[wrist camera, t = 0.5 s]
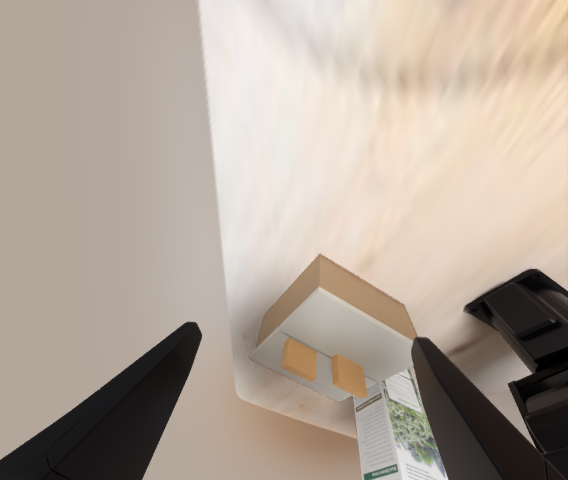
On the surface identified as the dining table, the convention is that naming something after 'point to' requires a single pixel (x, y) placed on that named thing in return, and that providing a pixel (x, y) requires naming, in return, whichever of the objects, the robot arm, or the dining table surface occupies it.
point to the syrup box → (396, 433)
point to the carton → (344, 288)
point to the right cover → (349, 341)
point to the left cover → (300, 364)
